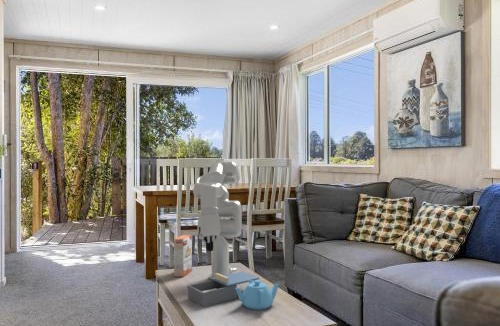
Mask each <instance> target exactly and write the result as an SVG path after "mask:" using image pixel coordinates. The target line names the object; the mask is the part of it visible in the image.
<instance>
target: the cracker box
mask: <svg viewBox="0 0 500 326" xmlns="http://www.w3.org/2000/svg"><path fill="white" fill-rule="evenodd" d="M192 237H193V236H192V234H181V235H180V236H177V237H176V238H174V239H173V276H174V277H178V278H179V277H180V278H184V277H185V276H186V275H188V274H190V273H191V272H192V271H193V270H192V269H193V266H192V265H193V264H192V263H193V260H192V259H193V255H192V253H193V251H192V249H193V247H192V245H193V243H192V240H193V239H192Z"/></svg>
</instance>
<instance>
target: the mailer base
mask: <svg viewBox="0 0 500 326" xmlns="http://www.w3.org/2000/svg"><path fill="white" fill-rule="evenodd" d="M237 286H238V284H237V285H233V286H229V287H228V286H225V285H223V284H221V283H219V282H216V281H214V280H211V279H210V280H208V281H202V282H198V283H194V284H189V285H187V300H190V301H192V302H193V303H195V304H197V305H199V306H201V307H202V308H203V307H208V306H211V305H215V304H219V303H223V302H227V301H231V300H235V299H237V298H238V294H237V291H236V289H235V288H238V287H237Z"/></svg>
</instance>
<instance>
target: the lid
mask: <svg viewBox="0 0 500 326" xmlns="http://www.w3.org/2000/svg"><path fill="white" fill-rule="evenodd" d="M212 280H214V281H216V282H219V283H221V284H223V285H225V286H228V287H229V286H233V285H237V286H238V285H241V284H245V283H249V280H252V281H253V282H254V281H255V280H260V277H259V276H256V275H254V274H250V273H247V272H244V271H243V270H242V271H236V272H232V273H231V274H228V275H221V274H218V273H215V277H214V278H212Z"/></svg>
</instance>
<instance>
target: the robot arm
mask: <svg viewBox="0 0 500 326" xmlns="http://www.w3.org/2000/svg"><path fill="white" fill-rule="evenodd" d="M240 176H241V174H240V170H239V168H238V165H237V164H236V162H234V161H231V160H230V161H227V160H226V161H215V162H213V163H212V164H211V165H210V167H209V171H208V172H206V173H205V174H203V175H201V176H199V177H198V178H197V179H196V180H195V182H194V184H193V187H192V194H193V196H194V197H195V198H197V199H200V213H199V215H198V219H197V235H198V239H199V240H203V241H204V242H205V248H206V251H207V252H211V255H210V258H211V273H210V274H209V275H208V279H210V281H211V280H212V278H214V277H215V273H218V274H221V275H228V274H232V273H237V272H238V270H237V268H236V267H234V268H232V267H230V252H229V251H230V249H229V248H230V247H229V245H230V244H229V243H228V241H227V240H226V238H238V237H240V236H241V234H242V228H243V227H242V223H243V221H242V219H243V218H242V217H243V211H242V210H243V209H242V203H241V201H239V200H229V198H230V193H229V191H228V190H227V188H226V187H225V186H224V185H234V184H238V183H239V181H240V179H241V177H240Z"/></svg>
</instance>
